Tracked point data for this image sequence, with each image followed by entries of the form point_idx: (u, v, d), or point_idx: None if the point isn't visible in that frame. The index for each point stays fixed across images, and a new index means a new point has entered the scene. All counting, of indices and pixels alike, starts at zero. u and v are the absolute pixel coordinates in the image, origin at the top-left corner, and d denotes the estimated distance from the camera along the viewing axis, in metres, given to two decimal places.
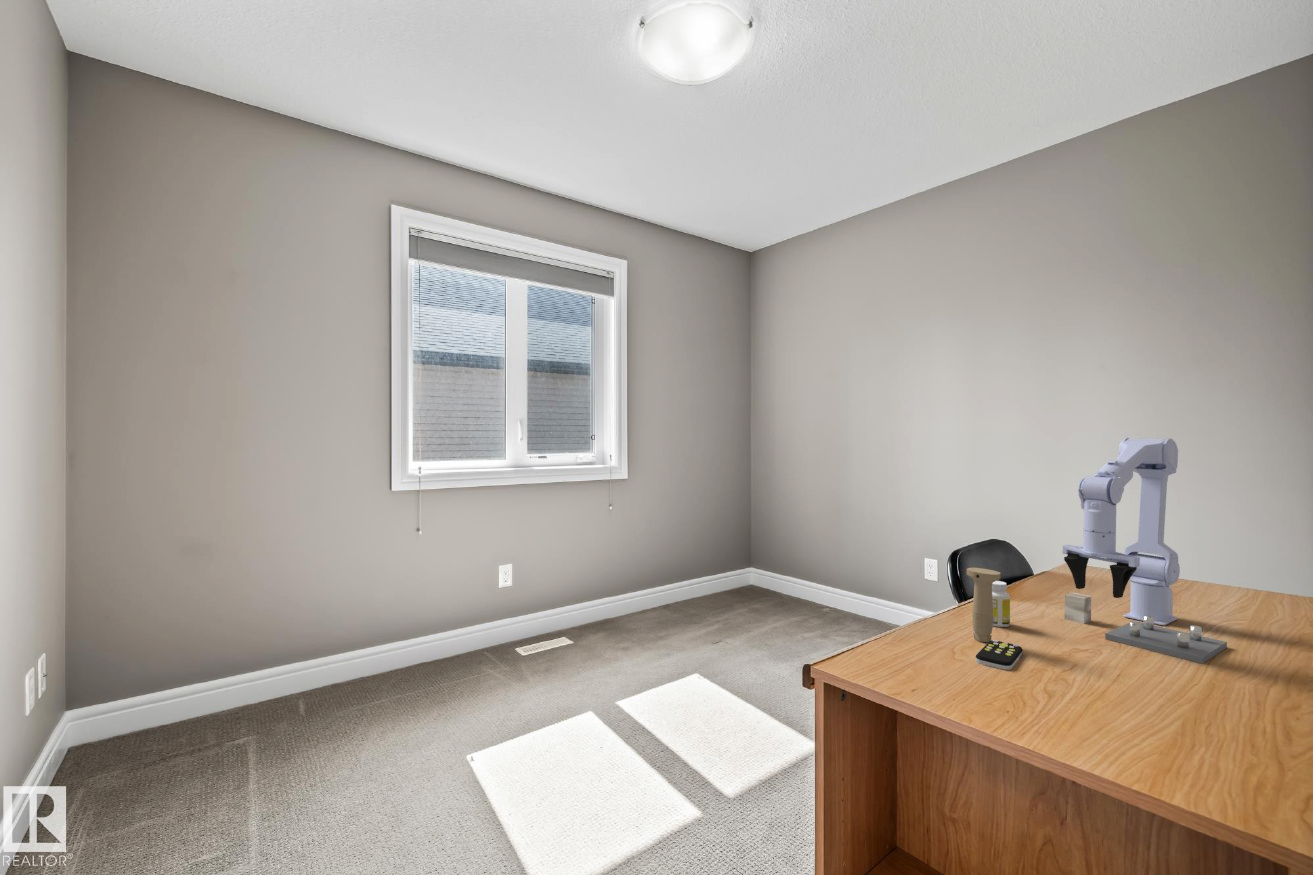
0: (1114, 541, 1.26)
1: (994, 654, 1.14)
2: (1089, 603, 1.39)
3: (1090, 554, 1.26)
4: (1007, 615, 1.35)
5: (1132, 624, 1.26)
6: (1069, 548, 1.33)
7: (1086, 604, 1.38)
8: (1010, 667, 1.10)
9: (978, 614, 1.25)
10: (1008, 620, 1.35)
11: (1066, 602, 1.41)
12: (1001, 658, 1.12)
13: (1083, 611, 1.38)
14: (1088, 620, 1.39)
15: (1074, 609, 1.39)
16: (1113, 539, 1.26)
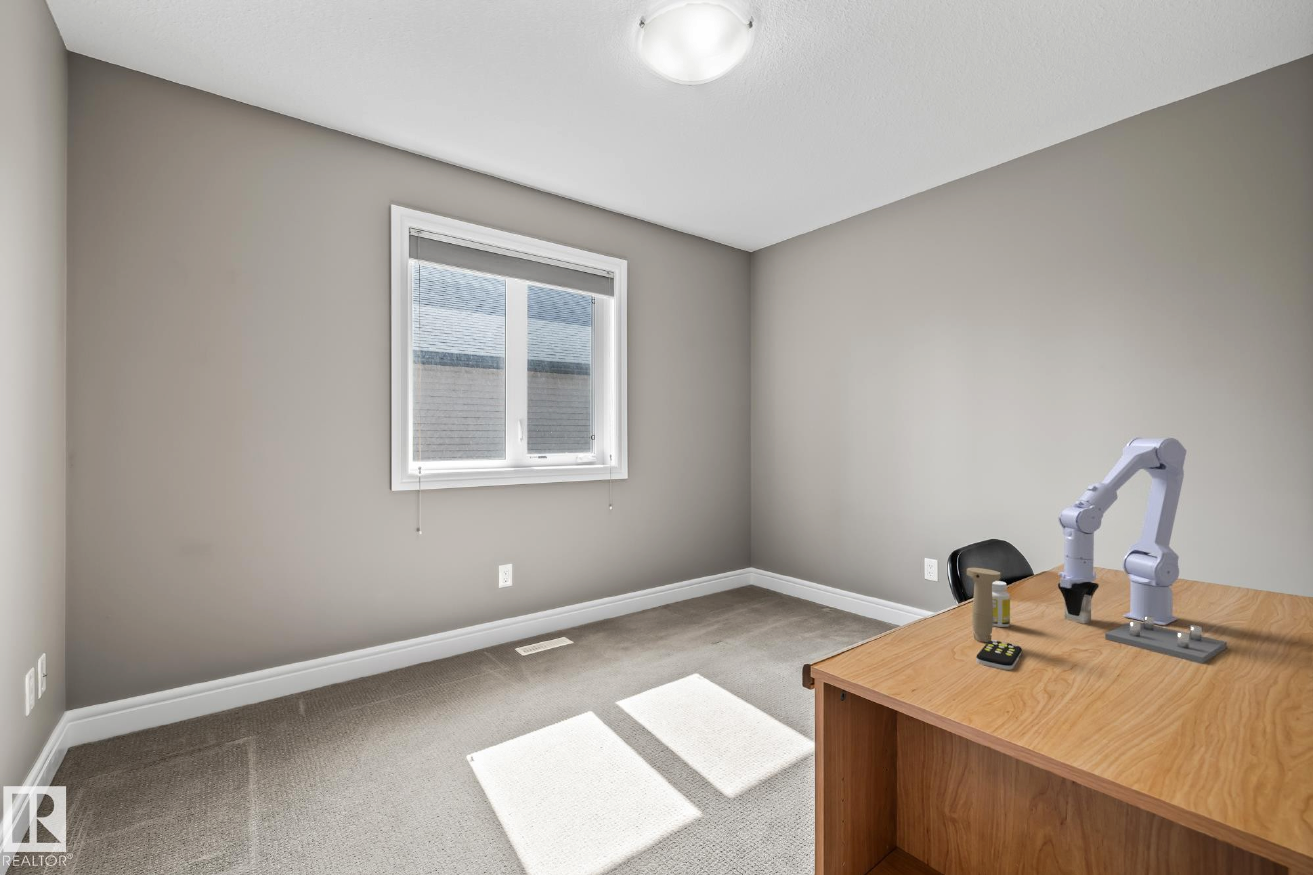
0: (1075, 566, 1.39)
1: (995, 654, 1.14)
2: (1089, 603, 1.39)
3: None
4: (1007, 615, 1.35)
5: (1132, 624, 1.26)
6: None
7: (1086, 604, 1.38)
8: (1011, 667, 1.10)
9: (977, 614, 1.25)
10: (1008, 620, 1.35)
11: None
12: (1001, 658, 1.12)
13: (1083, 611, 1.38)
14: (1088, 620, 1.39)
15: None
16: (1072, 563, 1.39)
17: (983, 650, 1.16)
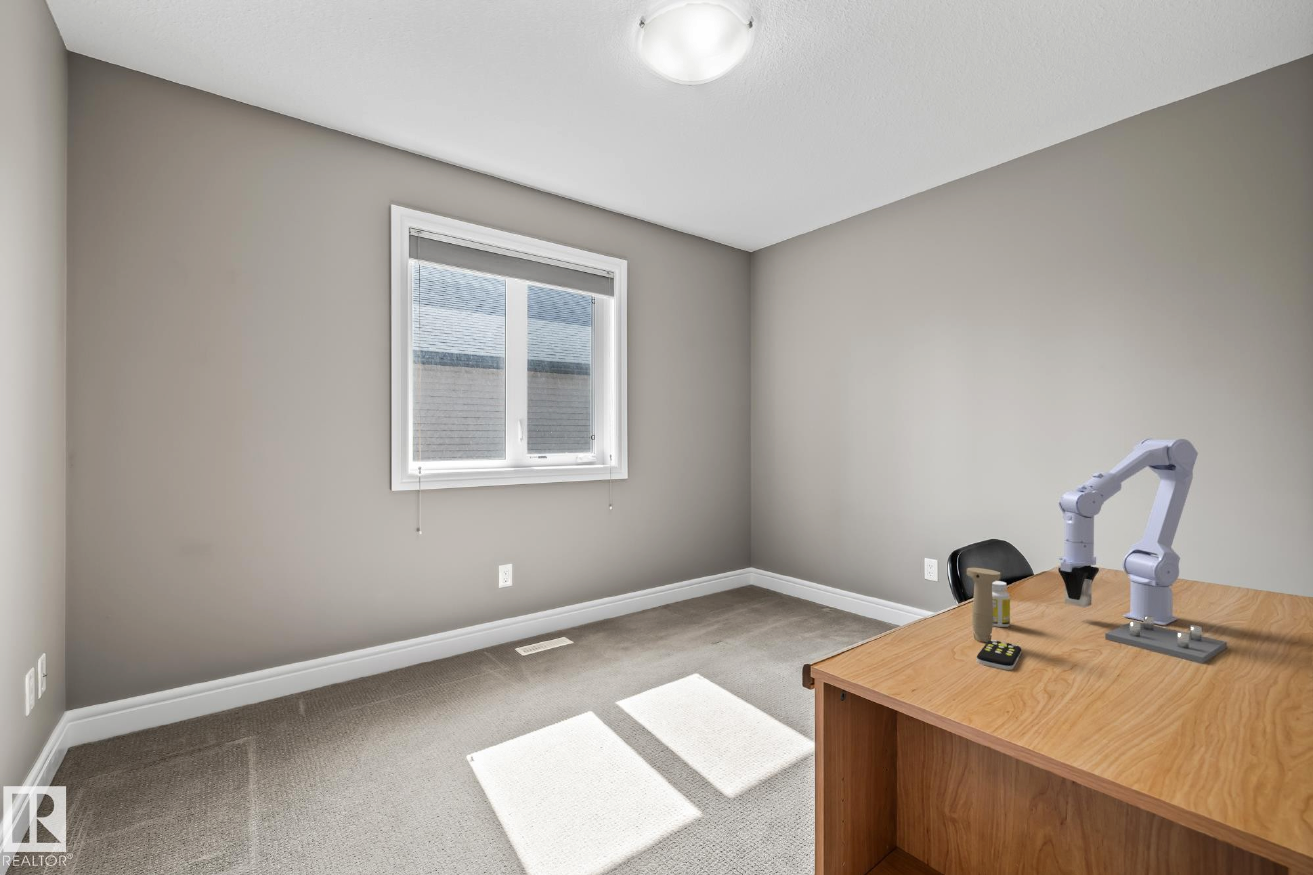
0: (1075, 550, 1.39)
1: (995, 654, 1.14)
2: (1089, 587, 1.39)
3: (1059, 558, 1.43)
4: (1007, 615, 1.35)
5: (1132, 624, 1.26)
6: None
7: (1086, 588, 1.38)
8: (1012, 667, 1.10)
9: (978, 614, 1.25)
10: (1008, 620, 1.35)
11: None
12: (1002, 658, 1.12)
13: (1083, 595, 1.38)
14: (1088, 604, 1.39)
15: None
16: (1072, 547, 1.39)
17: (983, 650, 1.16)
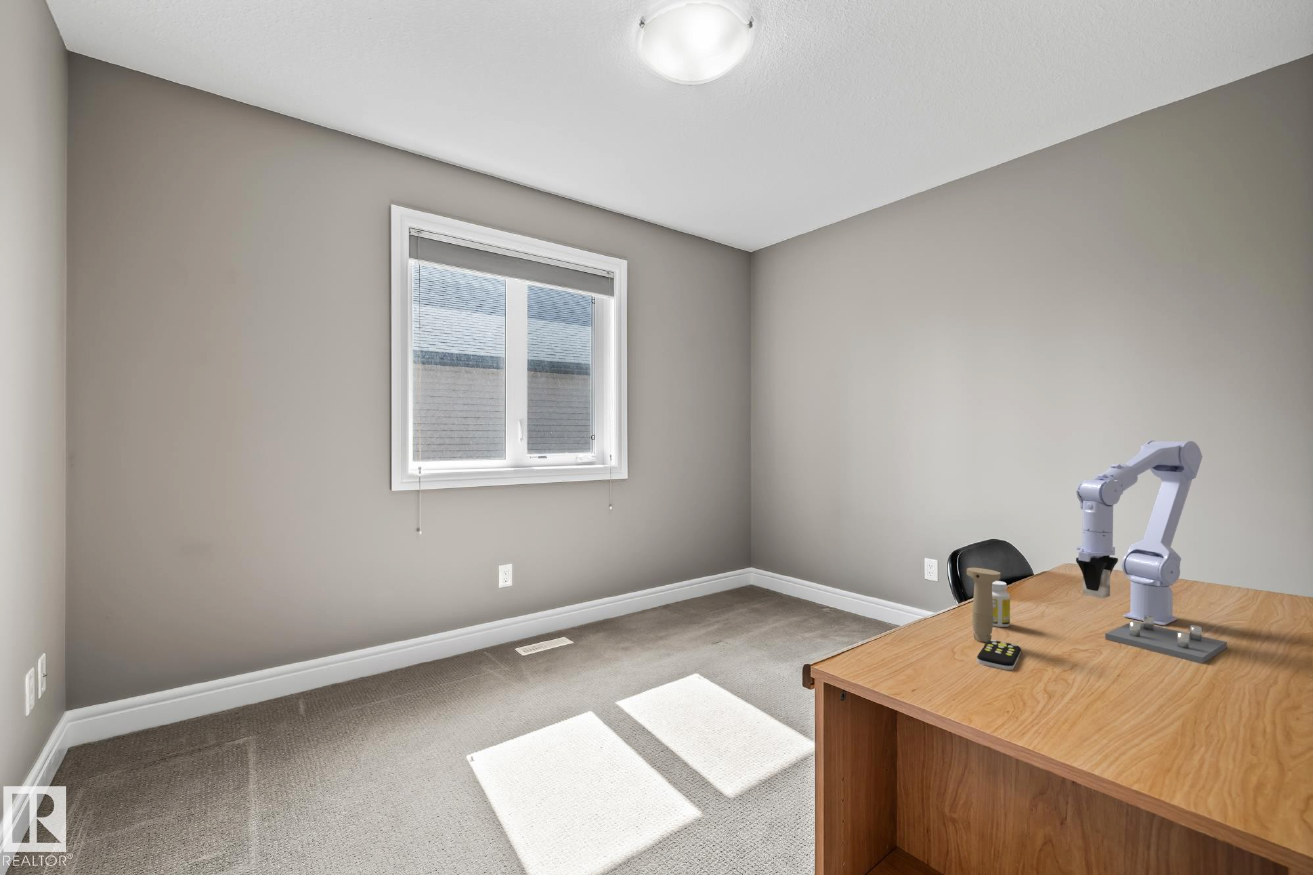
0: (1094, 539, 1.35)
1: (995, 654, 1.14)
2: (1108, 577, 1.36)
3: (1076, 548, 1.40)
4: (1007, 615, 1.35)
5: (1132, 624, 1.26)
6: None
7: (1105, 579, 1.35)
8: (1012, 667, 1.10)
9: (978, 614, 1.25)
10: (1008, 620, 1.35)
11: None
12: (1002, 659, 1.12)
13: (1102, 585, 1.34)
14: (1107, 595, 1.36)
15: None
16: (1091, 537, 1.36)
17: (983, 650, 1.16)
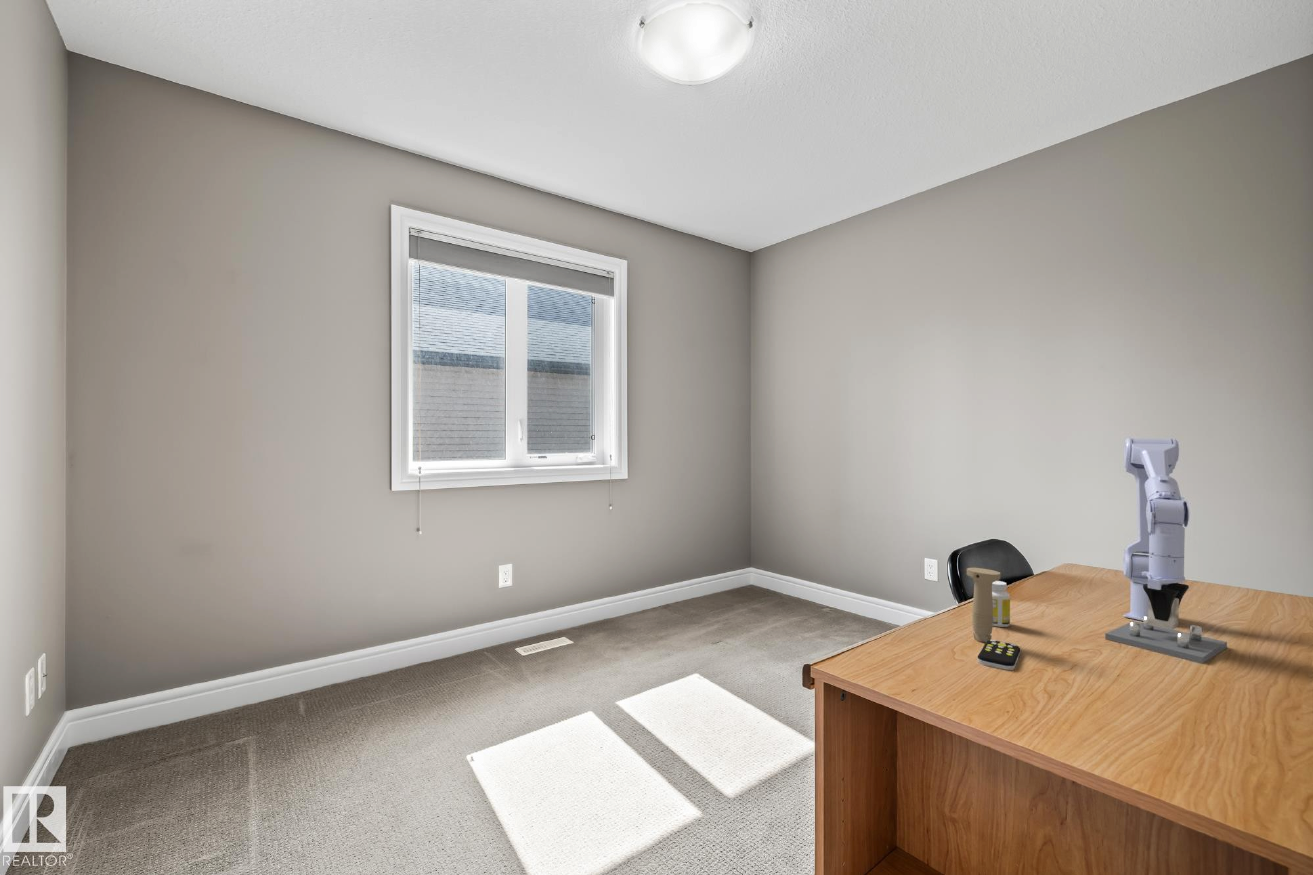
0: (1163, 565, 1.23)
1: (996, 654, 1.14)
2: (1177, 606, 1.24)
3: (1141, 573, 1.28)
4: (1007, 615, 1.35)
5: (1132, 624, 1.26)
6: None
7: (1174, 608, 1.23)
8: (1013, 667, 1.10)
9: (977, 614, 1.25)
10: (1008, 620, 1.35)
11: (1150, 605, 1.26)
12: (1003, 659, 1.12)
13: (1171, 615, 1.23)
14: (1176, 626, 1.24)
15: None
16: (1160, 562, 1.24)
17: (983, 650, 1.16)
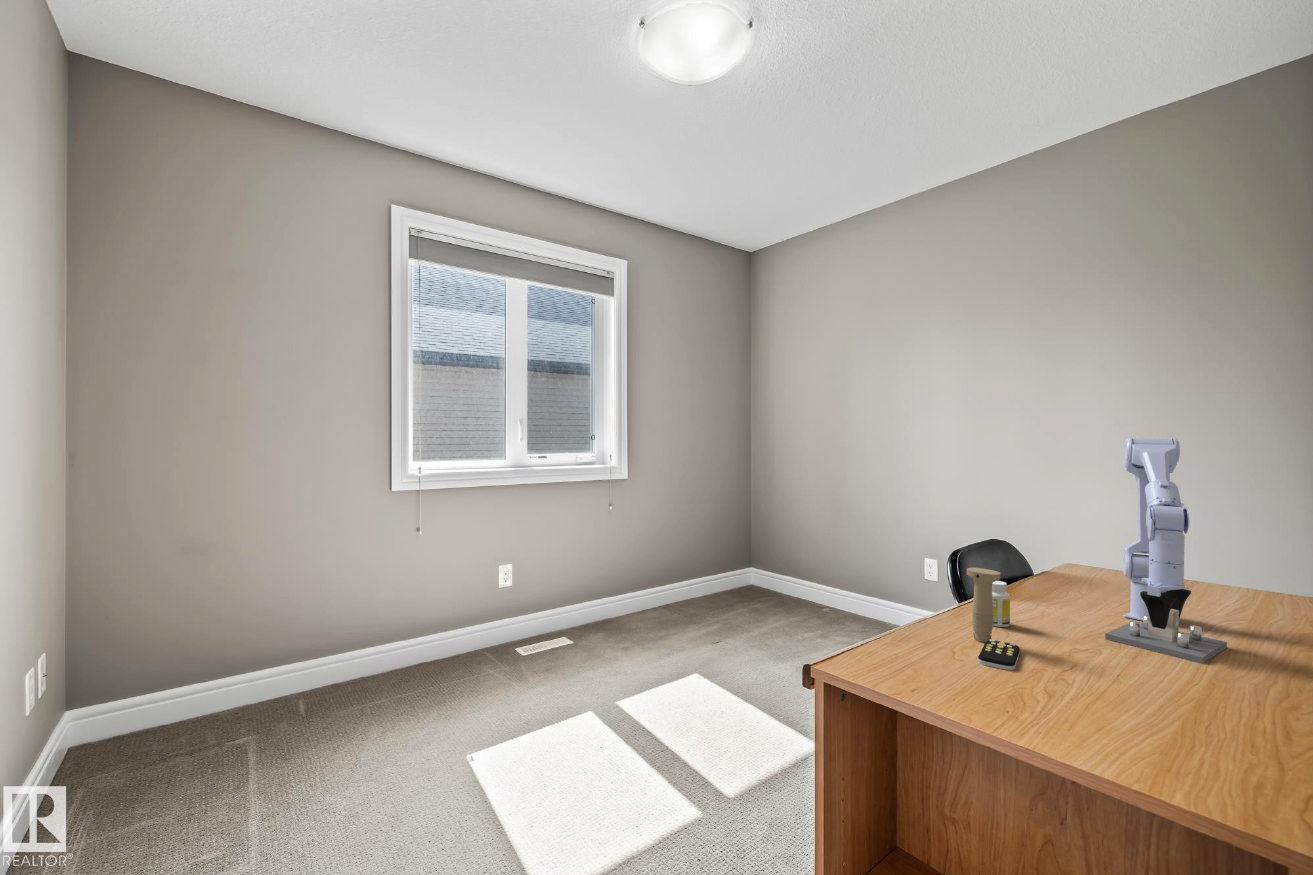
0: (1163, 571, 1.23)
1: (996, 655, 1.14)
2: (1177, 618, 1.24)
3: (1141, 579, 1.28)
4: (1007, 615, 1.35)
5: (1132, 624, 1.26)
6: None
7: (1173, 620, 1.23)
8: (1013, 667, 1.10)
9: (978, 614, 1.25)
10: (1008, 620, 1.35)
11: None
12: (1003, 659, 1.12)
13: (1171, 627, 1.23)
14: (1176, 637, 1.24)
15: None
16: (1160, 568, 1.24)
17: (984, 650, 1.16)
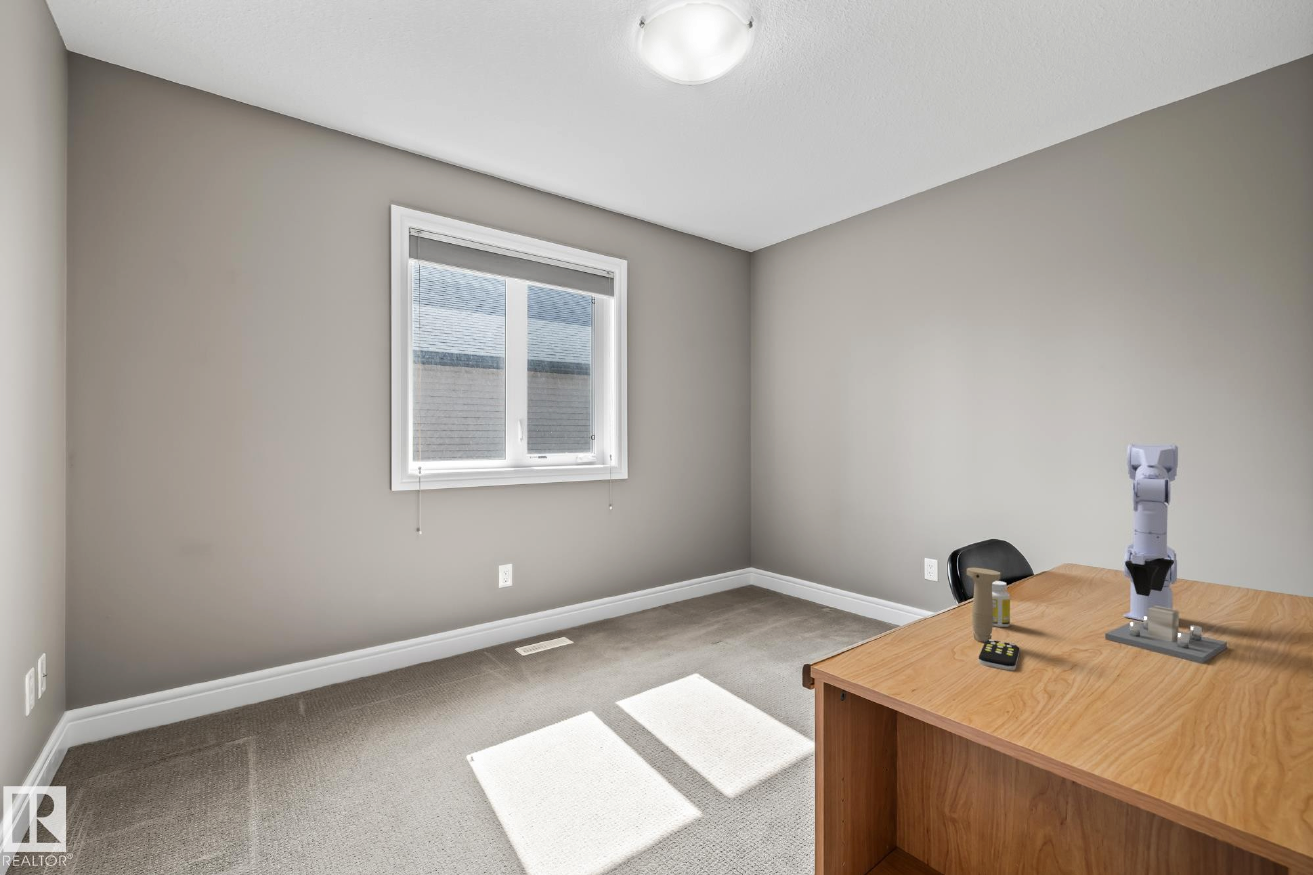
0: (1147, 541, 1.29)
1: (996, 655, 1.14)
2: (1177, 618, 1.24)
3: (1127, 550, 1.34)
4: (1007, 615, 1.35)
5: (1132, 624, 1.26)
6: None
7: (1173, 620, 1.23)
8: (1014, 667, 1.10)
9: (977, 614, 1.25)
10: (1008, 620, 1.35)
11: (1150, 617, 1.26)
12: (1004, 659, 1.12)
13: (1171, 627, 1.23)
14: (1176, 637, 1.24)
15: (1160, 625, 1.24)
16: (1144, 538, 1.29)
17: (984, 651, 1.16)
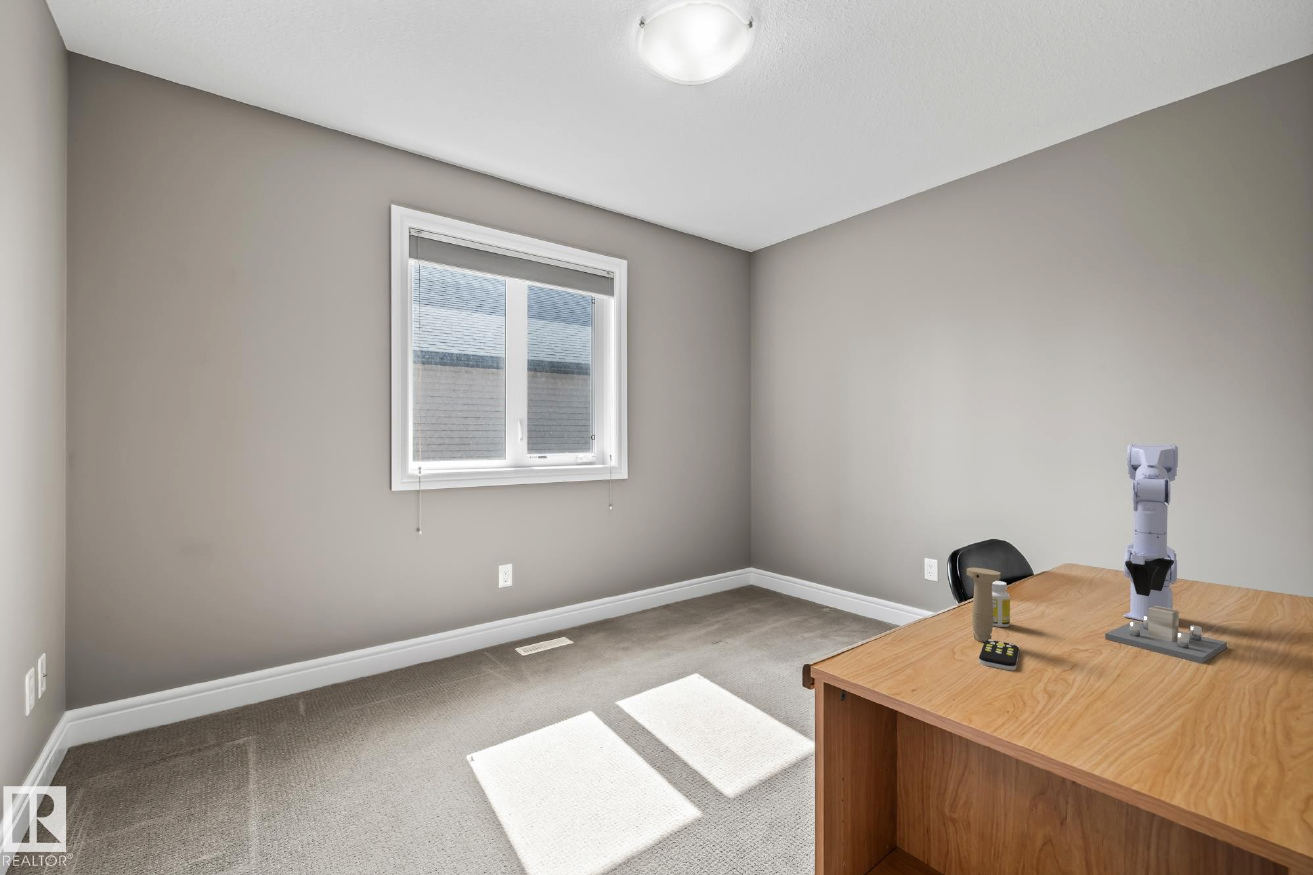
0: (1147, 541, 1.29)
1: (997, 655, 1.14)
2: (1177, 618, 1.24)
3: (1127, 550, 1.34)
4: (1007, 615, 1.35)
5: (1132, 624, 1.26)
6: None
7: (1173, 620, 1.23)
8: (1015, 667, 1.10)
9: (977, 614, 1.25)
10: (1008, 620, 1.35)
11: (1150, 617, 1.26)
12: (1004, 659, 1.12)
13: (1171, 627, 1.23)
14: (1176, 637, 1.24)
15: (1160, 625, 1.24)
16: (1144, 538, 1.29)
17: (984, 651, 1.16)
